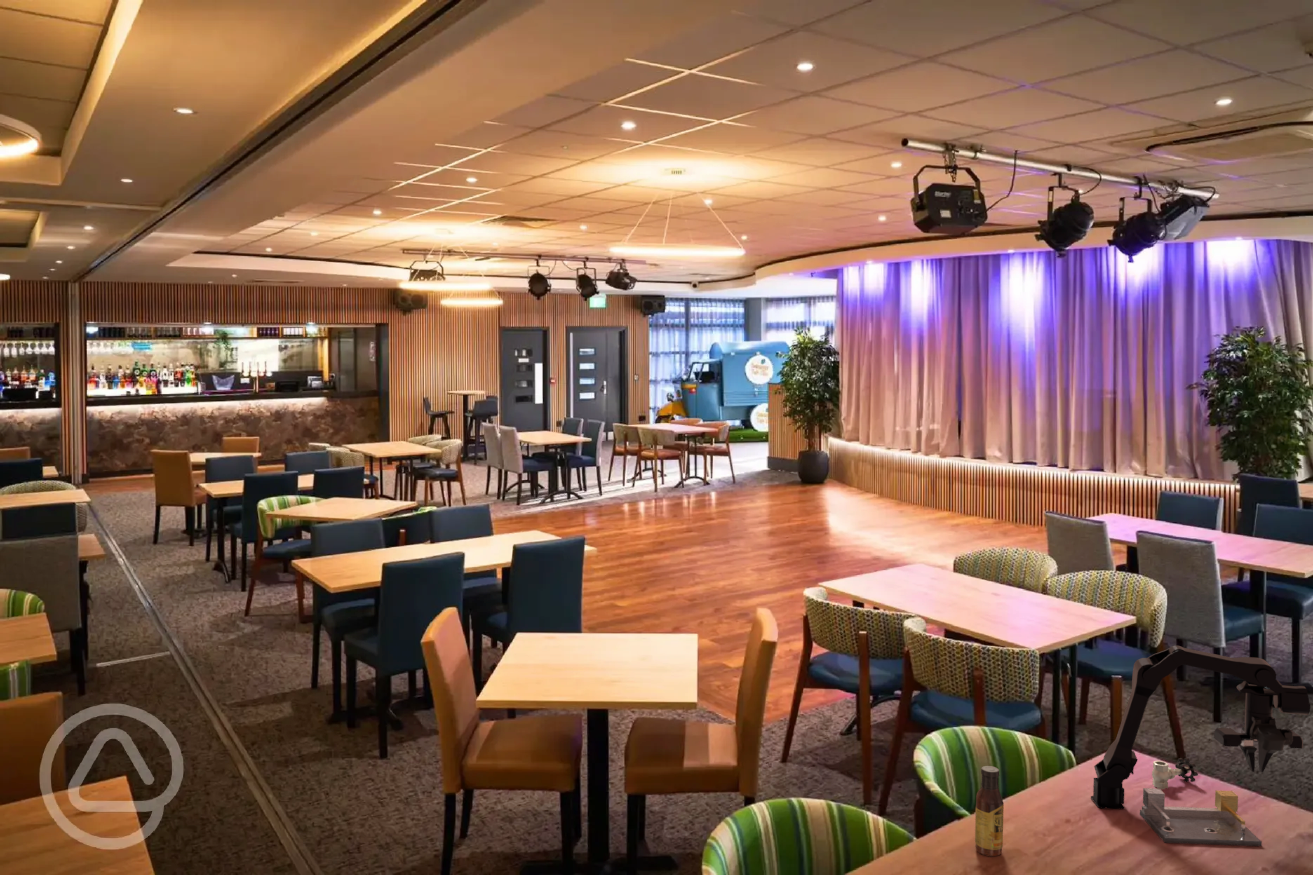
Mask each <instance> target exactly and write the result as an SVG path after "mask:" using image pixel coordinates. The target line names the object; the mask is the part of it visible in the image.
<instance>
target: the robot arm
mask: <svg viewBox="0 0 1313 875" xmlns="http://www.w3.org/2000/svg"><path fill="white" fill-rule="evenodd" d="M1181 666H1188V667H1193V668H1198V669H1203V670H1207V671H1210V672H1211V671H1212V672H1217V673H1220V674H1225V675H1230V676H1234V677H1236V678H1238V679H1240V680H1243V681H1242V682H1241V683H1239V684H1238V685H1237V686H1236V689H1237V690H1238V691H1239V693H1243V694H1245V705H1244V706H1245V709H1242V715H1244V725H1241V726H1242V727H1241V730H1242V731H1243V732H1236V730H1234V729H1233V728H1231V727H1216V728H1215V729H1214V731H1213V739H1214V740H1216V741H1217V742H1218V743H1220V744H1221V745H1222V746H1224V747H1234V748H1235V747H1236V748H1237V747H1239V748H1240V749H1241V750H1240V751H1241V752H1242V754H1243V756H1244V758H1245V761H1246V763H1247V765H1248V768H1249V770H1250V771H1251V772H1252V773H1253V772H1255V769H1256V767H1255V766H1256V762H1255V761H1256V760H1255V758H1256V756H1255V753H1256V752H1258V753H1257V754H1258V755H1257V756H1258V769H1259V772H1261V773H1264V771H1265V769H1266V768H1267V766H1268V763H1269V761H1270V759H1271V758H1272V756H1273V754H1275V753H1277V752H1280V751H1281V752H1282V751H1283V750H1284V747H1285V746H1288V747H1289V748H1290V749H1304V740H1303V738H1302V736H1300V735H1299V734H1297V733H1296V732H1295V731H1293V730H1291V729H1290V728H1289V729H1286V728H1284V729H1283V728H1278V727H1277V725H1276V724H1277V723H1276V722H1277V721H1276V718H1275V717H1273V705H1274V708H1275V709H1278V711H1279V713H1281V714H1291V715H1292V714H1293V715H1305V716H1309V714H1310V712H1311V703H1310V698H1309V695H1308V688H1306V687H1305V686H1304V685H1294V686H1293V685H1285V684H1284V685H1283V684H1282V683H1281V682H1280V681H1279V680H1278V679H1277V673H1276V670H1275V668H1273V666H1271V665H1270V664H1269V663H1268V662H1267V661H1266V660H1265V659H1263V658H1260V657H1253V656H1252V657H1251V656H1249V657H1248V656H1241V657H1232V656H1231V657H1230V656H1225V655H1220V654H1215V653H1210V652H1206V651H1202V650H1195V649H1192V648H1188V647H1187V648H1186V647H1183V646H1180V645H1172V646H1170V647H1169V648H1167V649H1165V650H1161V651H1160V652H1159V651H1158V652H1157V653H1154V654H1151V655H1150V656H1148V657H1141V658H1139V659H1136V660H1135V662H1134V663H1133V669H1132V677H1131V679H1132V680H1131V692H1130V694H1129V698H1128V702H1127V705H1126V706H1125V707H1126V708H1125V710H1124V714H1123V716H1122V719H1121V723H1120V725H1119V729H1118V732H1117V735H1116V738H1115V740H1114V741H1113V742H1112V743H1111V744H1110V745H1109V746H1108V749H1107V750H1106V751H1105V753H1104V756H1103V759H1102V760H1100V761H1099V762H1097V763H1096V764H1095V765H1094V766H1093V767H1094V770H1095V773H1096V777H1093V788H1092V790H1093V794H1092V795H1091V796H1090V799H1091V801H1092V802H1093V803H1094V804H1095V805H1096V807H1097V808H1098V809H1110V810H1113V809H1114V810H1125V805H1124V804H1125V788H1124V787H1123V782H1124V781H1125V780H1128V779H1129V778H1130V776H1131V775H1134V769H1135V767H1136V764H1137V763H1138V758H1137V754H1136V753H1135V751H1134V750H1133V747H1134V744H1135V742H1136V738H1137V735H1138V732H1139V729H1140V726H1141V724H1142V720H1143V717H1144V714H1145V712H1146V707H1147V705H1148V702H1149V699H1150V698H1151V697H1152V695H1154V693H1155V692H1156V691H1157V689H1158V688H1159V686H1160V685H1161V683H1162V680H1163V679H1164V678H1166V677H1168V676H1169V675H1170V674H1172V672H1174V671H1175V670H1176V669H1178V668H1179V667H1181ZM1249 683H1250V684H1249ZM1267 688H1268V689H1267ZM1254 742H1257V743H1258V744H1257V745H1258V746H1257V747H1256V746H1255V744H1254ZM1257 750H1258V751H1257Z"/></svg>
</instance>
